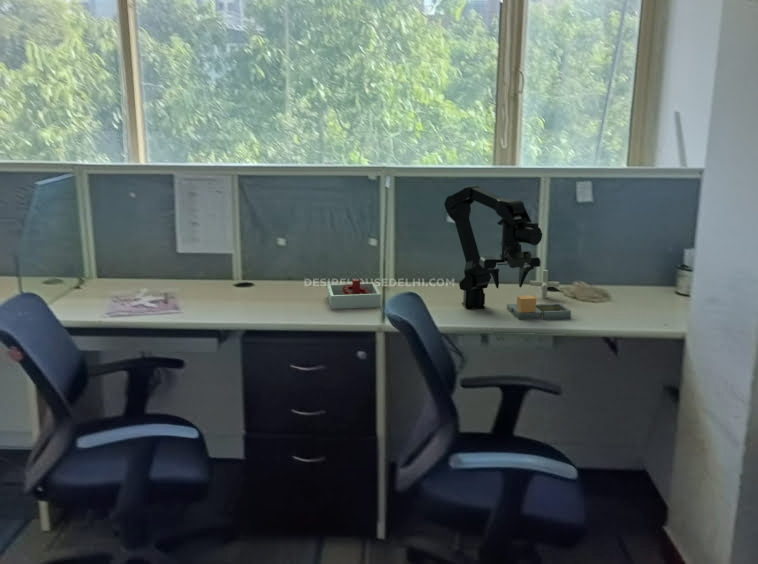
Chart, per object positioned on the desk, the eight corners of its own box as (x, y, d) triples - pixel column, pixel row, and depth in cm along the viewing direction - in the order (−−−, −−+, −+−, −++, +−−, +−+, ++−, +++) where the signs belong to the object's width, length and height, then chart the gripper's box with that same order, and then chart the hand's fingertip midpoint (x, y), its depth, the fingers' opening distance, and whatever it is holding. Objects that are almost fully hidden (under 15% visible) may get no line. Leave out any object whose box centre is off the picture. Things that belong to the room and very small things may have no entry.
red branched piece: (370, 307, 251) (370, 283, 249) (338, 304, 255) (337, 280, 253) (381, 299, 261) (381, 276, 259) (350, 296, 265) (349, 273, 263)
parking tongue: (511, 312, 244) (511, 308, 244) (506, 308, 249) (506, 304, 249) (531, 311, 245) (531, 307, 245) (526, 307, 250) (526, 303, 250)
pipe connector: (558, 302, 257) (560, 274, 254) (529, 300, 259) (531, 273, 256) (557, 294, 266) (559, 267, 264) (529, 293, 268) (531, 266, 266)
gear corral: (331, 308, 249) (330, 296, 248) (327, 296, 265) (327, 284, 263) (380, 306, 252) (380, 294, 250) (374, 294, 267) (374, 282, 266)
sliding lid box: (520, 320, 236) (520, 313, 235) (511, 312, 244) (511, 305, 244) (570, 318, 238) (571, 311, 237) (560, 310, 247) (560, 303, 246)
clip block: (520, 312, 238) (521, 299, 237) (516, 308, 242) (517, 295, 240) (535, 311, 238) (536, 298, 237) (531, 308, 242) (532, 295, 241)
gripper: (490, 246, 224) (488, 295, 228) (548, 244, 227) (545, 292, 231) (479, 239, 235) (478, 286, 239) (535, 237, 238) (532, 284, 242)
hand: (508, 287), depth 237 cm, fingers open, 7 cm apart
